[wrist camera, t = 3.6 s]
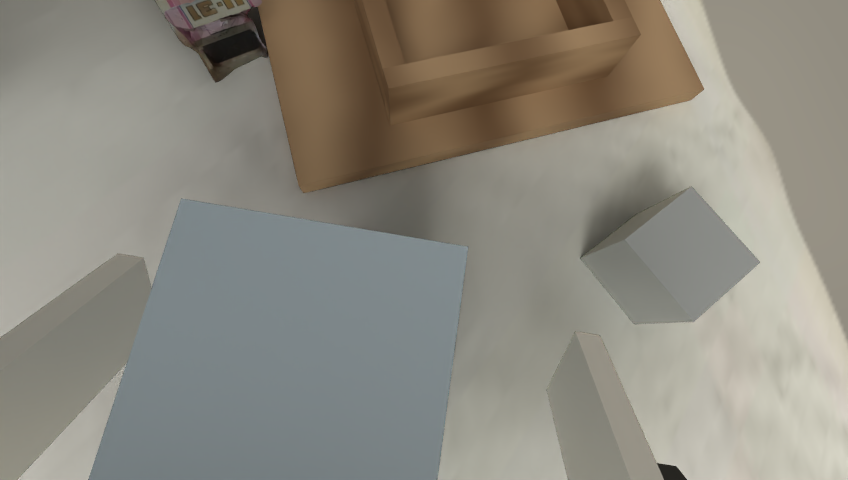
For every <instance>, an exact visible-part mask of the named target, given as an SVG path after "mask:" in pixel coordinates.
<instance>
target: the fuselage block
mask: <svg viewBox="0 0 848 480" xmlns="http://www.w3.org/2000/svg"><path fill="white" fill-rule="evenodd" d="M467 253H468V247H467V246H461V245H455V244H449V243H443V242H437V241H431V240H426V239H420V238H414V237H408V236H402V235H396V234H390V233H384V232H378V231H372V230H366V229H360V228H354V227H348V226H342V225H336V224H330V223H324V222H318V221H312V220H307V219H301V218H295V217H289V216H283V215H277V214H271V213H265V212H259V211H253V210H247V209H241V208H235V207H229V206H223V205H217V204H211V203H205V202H199V201H193V200H188V199H182V198H181V201H180V204H179V207H178V210H177V213H176V216H175V219H174V222H173V225H172V228H171V231H170V234H169V237H168V240H167V243H166V246H165V249H164V252H163V255H162V258H161V261H160V264H159V267H158V270H157V273H156V276H155V280H154V283H153V286H152V289H151V292H150V295H149V298H148V301H147V304H146V307H145V310H144V313H143V316H142V319H141V322H140V325H139V328H138V331H137V334H136V337H135V340H134V343H133V346H132V349H131V352H130V355H129V358H128V361H127V364H126V367H125V370H124V373H123V376H122V379H121V382H120V385H119V388H118V391H117V394H116V398H115V401H114V404H113V407H112V410H111V413H110V416H109V419H108V422H107V425H106V428H105V431H104V434H103V437H102V440H101V443H100V446H99V449H98V452H97V455H96V458H95V461H94V464H93V467H92V470H91V473H90V476H89V479H88V480H437V479H438V471H439V464H440V456H441V449H442V441H443V434H444V426H445V419H446V411H447V404H448V396H449V389H450V381H451V373H452V366H453V358H454V351H455V343H456V336H457V328H458V321H459V313H460V306H461V298H462V291H463V283H464V275H465V268H466V260H467Z"/></svg>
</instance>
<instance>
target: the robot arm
mask: <svg viewBox="0 0 848 480" xmlns="http://www.w3.org/2000/svg"><path fill="white" fill-rule="evenodd" d="M151 289H152V288H151V284H150V280H149V277H148V273H147V269H146V265H145V261H144V258H142V257H136V256H130V255H124V254H116V255H115V256H114V257H112V258H111V259H109V260H108V261H107V262H105V263H104V264H102V265H101V266H100V267H98V268H97V269H95V270H94V271H93V272H91V273H90V274H88V275H87V276H86V277H84V278H83V279H81V280H80V281H79V282H77V283H76V284H75V285H73V286H72V287H70V288H69V289H68V290H66V291H65V292H63V293H62V294H61V295H59V296H58V297H56V298H55V299H54V300H52V301H51V302H49V303H48V304H47V305H45V306H44V307H42V308H41V309H40V310H38V311H37V312H36V313H34V314H33V315H31V316H30V317H29V318H27V319H26V320H24V321H23V322H22V323H20V324H19V325H17V326H16V327H15V328H13V329H12V330H10V331H9V332H8V333H6V334H5V335H3V336H2V337H1V338H0V480H17V479H18V478H19V477H20V476H21V475H22V474H23V473H24V472H25V471H26V470H27V469H28V468H29V467H30V466H31V464H32V463H33V462H34V461H35V460H36V459H37V458H38V457H39V456H40V455H41V454H42V453H43V452H44V451H45V450H46V448H47V447H48V446H49V445H50V444H51V443H52V442H53V441H54V440H55V439H56V438H57V437H58V436H59V435H60V433H61V432H62V431H63V430H64V429H65V428H66V427H67V426H68V425H69V424H70V423H71V422H72V421H73V420H74V419H75V417H76V416H77V415H78V414H79V413H80V412H81V411H82V410H83V409H84V408H85V407H86V406H87V405H88V404H89V402H90V401H91V400H92V399H93V398H94V397H95V396H96V395H97V394H98V393H99V392H100V391H101V390H102V389H103V387H104V386H105V385H106V384H107V383H108V382H109V381H110V380H111V379H112V378H113V377H114V376H115V375H116V374H117V373H118V371H119V370H120V369H121V368H122V367H123V366H124V365H125V364H126V363H127V361H128V358H129V355H130V352H131V349H132V346H133V343H134V340H135V337H136V334H137V331H138V328H139V325H140V322H141V319H142V316H143V313H144V310H145V307H146V304H147V301H148V298H149V295H150V292H151ZM547 394H548V398H549V402H550V407H551V411H552V415H553V419H554V423H555V428H556V432H557V436H558V440H559V444H560V449H561V453H562V457H563V461H564V465H565V469H566V474H567V478H568V480H687V479H686V478H685V477H684V475H683V474H682V473H681V472H680V470H679V469H678V468H677V467H676V466H671V465H665V464H659V463H656V460H655V458H654V456H653V454H652V451H651V449H650V447H649V445H648V442H647V440H646V438H645V436H644V433H643V431H642V429H641V427H640V424H639V422H638V420H637V418H636V415H635V413H634V411H633V409H632V406H631V404H630V402H629V400H628V397H627V395H626V393H625V391H624V388H623V386H622V384H621V381H620V379H619V377H618V375H617V372H616V370H615V368H614V366H613V363H612V361H611V359H610V357H609V354H608V352H607V350H606V348H605V345H604V343H603V341H602V339H601V336H600V335H595V334H589V333H584V332H578V331H575V333H574V335H573V337H572V339H571V341H570V343H569V345H568V347H567V349H566V351H565V353H564V355H563V357H562V359H561V361H560V363H559V365H558V367H557V369H556V371H555V373H554V375H553V377H552V379H551V381H550V384H549V386H548V388H547Z"/></svg>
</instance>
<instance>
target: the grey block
mask: <svg viewBox="0 0 848 480" xmlns="http://www.w3.org/2000/svg"><path fill="white" fill-rule="evenodd" d="M580 259H581V260H582V261H583V262H584V263H585V265H586V266H587V267H588V268H589V270H590V271H591V272H592V273H593V274H594V276H595V277H596V278H597V279H598V281H599V282H600V283H601V284H602V285H603V287H604V288H605V289H606V290H607V292H608V293H609V294H610V295H611V296H612V298H613V299H614V300H615V301H616V303H617V304H618V305H619V306H620V308H621V309H622V310H623V311H624V312H625V314H626V315H627V316H628V317H629V319H630V320H631V321H632V322H633V323H634V324H649V323H673V322H694V321H695V320H696V319H697V318H699V317H700V316H701V315H702V314H703V313H704V312H705V311H706V310H708V309H709V308H710V307H711V306H712V305H713V304H714V303H715V302H716V301H718V300H719V299H720V298H721V297H722V296H723V295H724V294H725V293H726V292H728V291H729V290H730V289H731V288H732V287H733V286H734V285H735V284H737V283H738V282H739V281H740V280H741V279H742V278H743V277H744V276H745V275H747V274H748V273H749V272H750V271H751V270H752V269H753V268H754V267H756V266H757V265H758V264H759V263H760V261H759V260H758V259H757V258H756V257H755V256H754V255H753V254H752V253H751V251H750V250H749V249H748V248H747V247H746V246H745V245H744V244H743V243H742V242H741V240H740V239H739V238H738V237H737V236H736V235H735V234H734V233H733V232H732V230H731V229H730V228H729V227H728V226H727V225H726V224H725V223H724V222H723V220H722V219H721V218H720V217H719V216H718V215H717V214H716V213H715V212H714V211H713V209H712V208H711V207H710V206H709V205H708V204H707V203H706V202H705V201H704V199H703V198H702V197H701V196H700V195H699V194H698V193H697V192H696V191H695V189H694V188H693V187H692V186H691V187H689V188H687V189H685V190H683V191H681V192H679V193H677V194H675V195H673V196H671V197H669V198H667V199H665V200H663V201H661V202H659V203H657V204H656V205H654V206H652V207H650V208H648V209H646V210H644V211H642V212H640V213H638V214H636V215H635V216H633V217H632V218H631V219H630V220H628V221H627V222H626V223H624V224H623V225H622V226H621V227H619V228H618V229H617V230H615V231H614V232H613V233H612V234H610V235H609V236H608V237H607V238H605V239H604V240H603V241H601V242H600V243H599V244H598V245H596V246H595V247H594V248H593V249H591V250H590V251H589V252H587V253H586V254H585V255H584V256H582V257H581V258H580Z"/></svg>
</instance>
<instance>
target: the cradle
mask: <svg viewBox="0 0 848 480" xmlns="http://www.w3.org/2000/svg"><path fill="white" fill-rule="evenodd" d="M258 10H259V15H260V19H261V23H262V28H263V32H264V36H265V41H266V45H267V50H268V54H269V58H270V63H271V67H272V71H273V76H274V80H275V85H276V89H277V93H278V98H279V102H280V106H281V111H282V115H283V120H284V124H285V128H286V133H287V137H288V141H289V146H290V150H291V155H292V159H293V163H294V168H295V172H296V176H297V181H298V185H299V187H300V189H301V190H302V191H303V193H307V192H311V191H315V190H319V189H323V188H327V187H332V186H336V185H340V184H344V183H348V182H352V181H357V180H361V179H365V178H369V177H373V176H377V175H381V174H386V173H390V172H394V171H398V170H402V169H406V168H411V167H415V166H419V165H423V164H427V163H431V162H435V161H440V160H444V159H448V158H452V157H456V156H460V155H465V154H469V153H473V152H477V151H481V150H485V149H489V148H494V147H498V146H502V145H506V144H510V143H514V142H519V141H523V140H527V139H531V138H535V137H539V136H543V135H548V134H552V133H556V132H560V131H564V130H568V129H573V128H577V127H581V126H585V125H589V124H593V123H597V122H602V121H606V120H610V119H614V118H618V117H622V116H627V115H631V114H635V113H639V112H643V111H647V110H651V109H656V108H660V107H664V106H668V105H672V104H676V103H681V102H685V101H689V100H692V99H693V98H694V97H695V96H697V95H698V94H699V93H700V92H702V91H703V90H704V87H703V85H702V83H701V81H700V79H699V77H698V75H697V73H696V71H695V69H694V67H693V65H692V63H691V61H690V59H689V57H688V55H687V53H686V51H685V49H684V47H683V45H682V43H681V41H680V39H679V37H678V35H677V33H676V31H675V29H674V27H673V25H672V23H671V21H670V19H669V17H668V15H667V13H666V11H665V9H664V7H663V5H662V3H661V1H660V0H262V3H261V4H260V5H259V6H258Z"/></svg>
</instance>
